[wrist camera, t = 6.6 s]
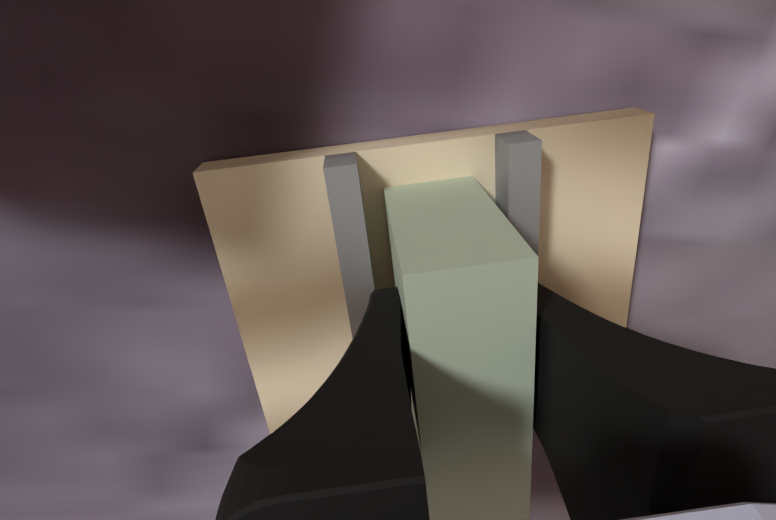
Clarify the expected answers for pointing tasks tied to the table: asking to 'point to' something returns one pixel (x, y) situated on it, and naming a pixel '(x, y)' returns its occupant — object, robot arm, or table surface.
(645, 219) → the table surface
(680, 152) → the table surface
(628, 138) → the track board
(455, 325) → the pale green block
